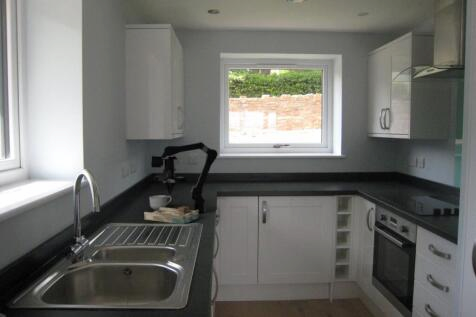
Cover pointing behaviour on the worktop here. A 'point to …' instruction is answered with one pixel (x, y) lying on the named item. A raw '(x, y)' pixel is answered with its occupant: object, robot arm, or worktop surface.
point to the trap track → (171, 215)
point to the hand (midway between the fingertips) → (169, 193)
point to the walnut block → (183, 210)
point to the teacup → (159, 201)
